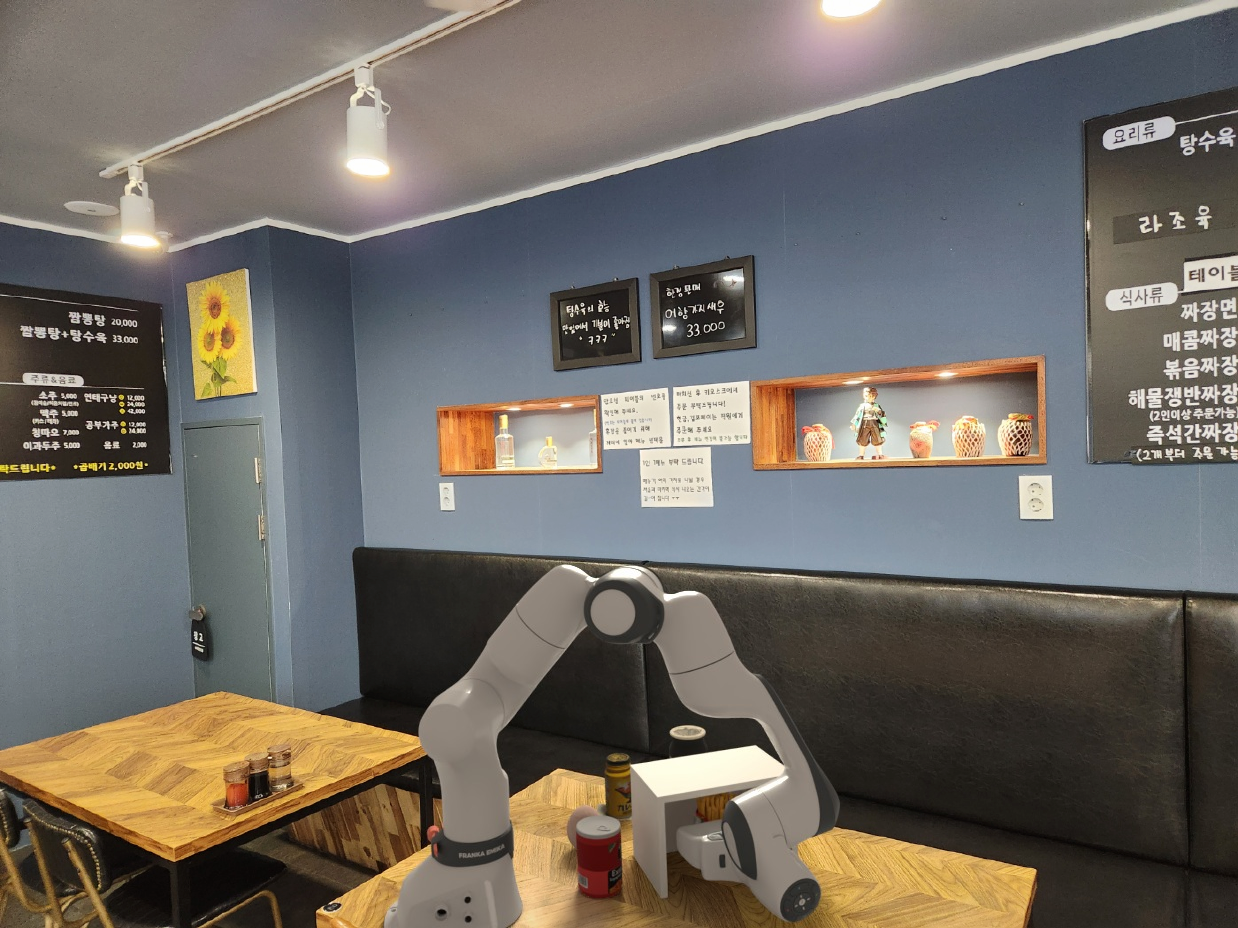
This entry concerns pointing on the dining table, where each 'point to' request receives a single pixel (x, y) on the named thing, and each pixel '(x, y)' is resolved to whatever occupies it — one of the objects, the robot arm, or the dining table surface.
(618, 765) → the condiment
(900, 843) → the dining table surface
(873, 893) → the dining table surface
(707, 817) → the french fries
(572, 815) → the egg
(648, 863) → the white step stool
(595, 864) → the canned food
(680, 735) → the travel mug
